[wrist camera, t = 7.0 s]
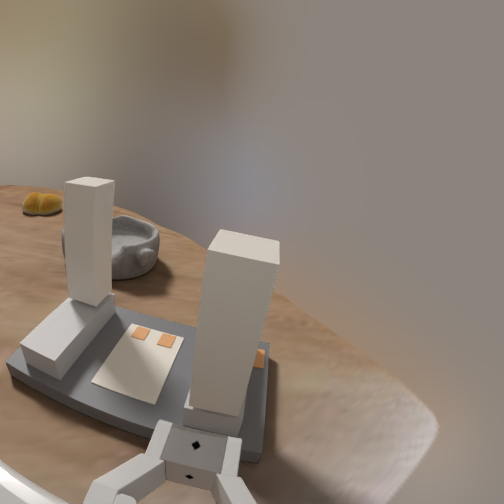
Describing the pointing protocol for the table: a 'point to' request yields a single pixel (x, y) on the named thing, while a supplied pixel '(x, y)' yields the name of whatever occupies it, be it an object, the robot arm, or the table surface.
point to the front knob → (231, 318)
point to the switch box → (132, 372)
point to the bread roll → (41, 204)
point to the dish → (131, 247)
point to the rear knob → (88, 238)
